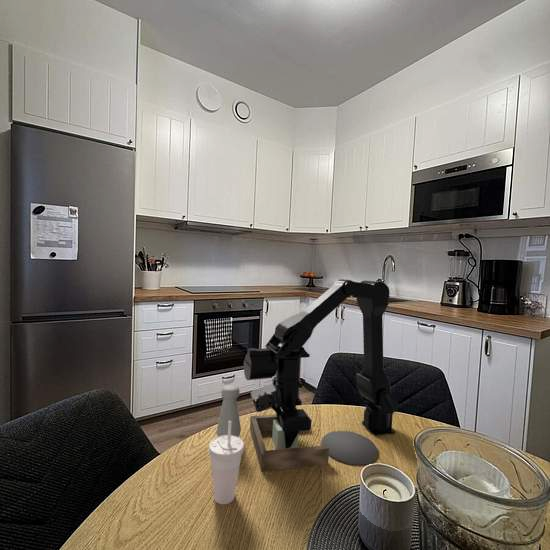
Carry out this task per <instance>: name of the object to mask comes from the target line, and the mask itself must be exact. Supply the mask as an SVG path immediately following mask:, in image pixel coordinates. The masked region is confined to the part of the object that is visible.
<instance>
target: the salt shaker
mask: <svg viewBox="0 0 550 550" xmlns="http://www.w3.org/2000/svg"><path fill="white" fill-rule="evenodd" d="M220 395H221V398H222V405H221V408H220V412H219V418H218V421H217V427H216V431H215V432H216V435H217V436H216V437H219V436H223V435H228V421H231V435H232V436H236V437H239V438H240V436H241V431H242V426H241V421H240V414H239V413H240V412H239V408H238V401H237V398H239V397H240V388H239V387H238V386H237V385H234V384H228V385H224V386H223V387H222V388H221V393H220Z"/></svg>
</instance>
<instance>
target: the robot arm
mask: <svg viewBox="0 0 550 550" xmlns="http://www.w3.org/2000/svg"><path fill="white" fill-rule="evenodd" d="M349 297H355V298H356V304H357V306H358V308H359V310H360V311H361V312H360V313H361V314H362V330H363V332H362V333H363V334H362V335H363V340H362V341H363V368H362V370H361V371H360V373H359V372H358V373H355V378H356V385H355V389H357V391H358V393H359V395H361V399H362V401H364V402H365V409H364V411H363V420H362V421H361V424H362V425H363V426H364V427H365V428H366V429H367V430H368V431H369V432H370V433H371V434H372V436H379V435H393V434H396V430H395V429H394V428H393V414H394V413H397V412H398V410H399V407H400V402H399V401H398V400H397V399H396V398H395V396H393V394H392V390H391V389H392V387H391V382H390V380H389V378H388V376H387V374H386V371H385V369H384V333H383V332H384V328H383V327H384V326H383V322H384V320H383V318H384V317H383V315H384V313H385V311H386V310H387V308H388V306H389V301H390V300H389V299H390V287H389V286H388V285H387V283H385V282H383V281H377V280H362V281H360V282H358V281H353V280H350V279H344V278H343V279H342V278H341V279H340V278H339V279H337V280H336V281H335V282H334V284H333V285H332V286H330V287H329V288H328V289H327V290H326V291H325V292H323V294H321V295H320V296H319V297H318V298H317V299H315V300H314V301H313V302H312V303H311V304H309V306H307V307H306V308H305V309H303V310H302V311H300V312H299V313H297V314H294V315H291V316H289V317H287V318H286V319H283V320H281V322H279V323H278V324H277V325H276V326H275V329H274V334H272V336H271V337H270V339H269V340H268V342H267V343H266V345H265V347H264V348H253V347H251V348H249V347H248V348H247V349H246V350H247V353H246V354H245V358H244V360H243V373H244V377H245V379H246V380H247V381H254V380H255V381H256V380H264V379H265V380H266V379H272V381H271V383H270V384H268V385H264V386H261V387H259V388H257V389H253V390H252V391H251V392H250V396H251V399H252V402H253V406H254V409H255V412H257V413H260V412H263V411H266V410H268V409H271V410H273V411H274V412H275V415H277V421H278V423H279V425H280V427H281V428H282V430H283V431H284V440H285V447H286V448H290V447H291V446H292V444H293V442H294V440H295V438H296V437H297V435H298V433H299V434H300V432H307V431H310V430H312V422H313V421H312V419H311V417H310V415H309V414H308V413H307V411H305V409H304V408H300V409H298V408H297V406H298V407H299V406H302V402H303V401H302V399H301V398H300V389H302V388H303V382H302V381H301V368H302V367H301V364H302V359H303V358H310V357H311V356H310V353H308V351H307V350H306V348H305V347H304V345H305V344H306V343H307V342H308V340H309V339H311V336H312V335H313V332H314V330H315V328H316V327H317V325H319V323H321V322H322V321H323V320H325V318H327V316H330V314H331V313H332V312H333V311H335V310H336V309H337V308H338V307H339V306H340V305H342V303H344V302H345V301H346V300H347V299H349ZM280 345H281V346H280Z"/></svg>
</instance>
